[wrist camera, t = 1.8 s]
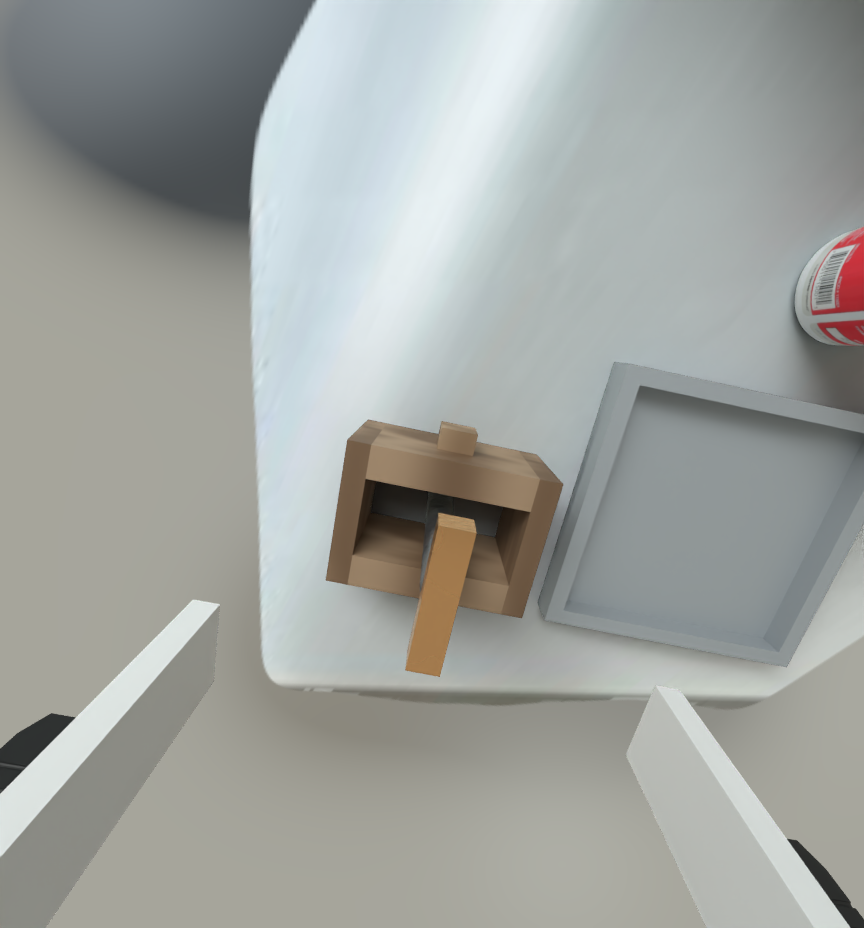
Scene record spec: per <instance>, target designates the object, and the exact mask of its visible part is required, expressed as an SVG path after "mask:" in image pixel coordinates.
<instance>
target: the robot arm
mask: <svg viewBox="0 0 864 928" xmlns="http://www.w3.org/2000/svg"><path fill="white" fill-rule="evenodd" d="M219 610H220V604H215V603H210V602H204V601H199V600H192V601H191V602H190V603H189V604H188V606H186V607H185V609H183V610H182V611H181V612H180V613H179V614H178V615H177V617H176V618H174V619H173V620H172V621H171V622H170V624H169V625H168V626H167V627H166V628H165V629H164V630H163V631H162V632H161V633H160V634H159V635H158V636H157V637H156V638H155V639H154V640H153V641H152V642H151V643H150V644H149V645H148V646H147V647H146V648H145V649H144V650H143V651H142V652H141V653H140V654H139V655H138V656H137V657H136V658H135V659H134V660H133V661H132V662H131V663H130V664H129V665H128V666H127V667H126V668H125V669H124V670H123V671H122V672H121V673H120V674H119V675H118V676H117V677H116V678H115V679H114V680H113V681H112V682H111V683H110V684H109V685H108V686H107V687H106V688H105V689H104V690H103V691H102V692H101V693H100V694H99V695H98V696H97V697H96V698H95V699H94V700H93V701H92V702H91V703H90V704H89V705H88V706H87V707H86V708H85V709H84V710H83V711H82V712H81V713H80V714H79V715H78V716H77V717H76V718H75V717H69V716H64V715H58V714H52V713H51V714H49V715H48V716H46V717H44V718H43V719H41V720H39V721H38V722H36V723H34V724H32V725H31V726H29V727H27V728H26V729H24V730H22V731H20V732H19V733H17V734H16V735H15V736H14V737H13V738H12V739H11V740H9V741H8V742H7V743H6V744H5V745H4V746H3V747H2V748H1V749H0V928H46V926H47V925H48V923H49V922H50V920H51V919H52V918H53V916H54V915H55V913H56V912H57V910H58V909H59V907H60V906H61V904H62V903H63V901H64V900H65V898H66V897H67V896H68V894H69V892H70V891H71V890H72V888H73V887H74V885H75V884H76V882H77V881H78V879H79V878H80V876H81V875H82V874H83V872H84V871H85V869H86V868H87V866H88V865H89V863H90V862H91V860H92V859H93V858H94V856H95V855H96V853H97V852H98V850H99V849H100V847H101V846H102V844H103V843H104V841H105V840H106V838H107V837H108V836H109V834H110V833H111V831H112V829H113V828H114V827H115V825H116V824H117V822H118V821H119V819H120V818H121V816H122V815H123V814H124V812H125V811H126V809H127V808H128V806H129V805H130V803H131V802H132V800H133V799H134V797H135V796H136V795H137V793H138V791H139V790H140V789H141V787H142V786H143V784H144V783H145V781H146V780H147V778H148V777H149V775H150V774H151V773H152V771H153V770H154V768H155V767H156V765H157V764H158V762H159V761H160V759H161V758H162V757H163V755H164V754H165V752H166V751H167V749H168V747H169V746H170V745H171V743H172V742H173V740H174V739H175V737H176V736H177V735H178V733H179V732H180V730H181V729H182V727H183V726H184V724H185V723H186V721H187V720H188V718H189V717H190V715H191V714H192V713H193V711H194V709H195V708H196V707H197V705H198V704H199V702H200V701H201V699H202V698H203V696H204V695H205V694H206V692H207V691H208V689H209V688H210V686H211V685H212V683H213V682H214V671H215V658H216V646H217V634H218V621H219ZM626 757H627V759H628V761H629V763H630V765H631V767H632V770H633V771H634V774H635V776H636V778H637V780H638V782H639V785H640V787H641V788H642V791H643V793H644V795H645V797H646V799H647V802H648V804H649V806H650V808H651V810H652V812H653V814H654V817H655V819H656V821H657V823H658V825H659V827H660V830H661V832H662V834H663V836H664V838H665V840H666V842H667V844H668V847H669V848H670V851H671V853H672V855H673V857H674V859H675V862H676V864H677V866H678V868H679V870H680V872H681V874H682V877H683V879H684V880H685V883H686V885H687V887H688V889H689V892H690V893H691V896H692V898H693V900H694V902H695V904H696V907H697V909H698V911H699V913H700V915H701V917H702V919H703V922H704V924H705V926H706V928H864V919H863V918H862V916H861V915H860V914H859V912H858V911H857V910H856V909H855V908H852V906H851V904H850V903H851V902H850V901H849V899H848V898H847V896H846V895H845V894H844V892H843V891H842V890H841V889H840V887H839V886H838V884H837V883H836V882H835V881H834V879H833V878H832V877H831V875H830V874H829V873H828V871H827V870H826V869H825V868H824V867H823V866H822V865H821V864H820V863H819V862H818V861H817V860H816V859H815V858H814V857H813V856H812V855H811V854H810V853H809V852H808V851H807V850H806V849H805V848H804V847H803V846H802V845H801V844H800V843H799V842H798V841H797V840H791V839H786V837H785V836H784V834H783V833H782V832H781V830H780V829H779V828H778V826H777V825H776V823H775V822H774V821H773V819H772V818H771V816H770V815H769V814H768V812H767V811H766V809H765V808H764V807H763V805H762V804H761V802H760V801H759V800H758V798H757V797H756V795H755V794H754V793H753V791H752V790H751V789H750V787H749V786H748V784H747V783H746V782H745V780H744V779H743V777H742V776H741V775H740V773H739V772H738V770H737V769H736V768H735V766H734V765H733V763H732V762H731V761H730V759H729V758H728V756H727V755H726V754H725V752H724V751H723V750H722V748H721V747H720V745H719V744H718V743H717V741H716V740H715V738H714V737H713V736H712V734H711V733H710V731H709V730H708V729H707V727H706V726H705V725H704V723H703V722H702V720H701V719H700V717H699V716H698V715H697V713H696V712H695V710H694V709H693V708H692V706H691V705H690V704H689V702H688V701H687V699H686V698H685V697H684V695H683V694H682V692H681V691H680V690H678V689H673V688H668V687H662V686H657V685H655V687H654V689H653V692H652V694H651V696H650V699H649V701H648V704H647V706H646V708H645V711H644V713H643V715H642V718H641V720H640V722H639V725H638V727H637V730H636V732H635V734H634V737H633V739H632V741H631V744H630V746H629V748H628V751H627V753H626Z"/></svg>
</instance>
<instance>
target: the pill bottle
mask: <svg viewBox="0 0 864 928" xmlns="http://www.w3.org/2000/svg"><path fill="white" fill-rule="evenodd" d="M795 311H796V314H797V318H798V320H799V322H800V324H801V326H802V327H803V329H804V330H805V331H806V332H807V333H808V334H809V335H810V336H811V337H813V338H814V339H816V340H818V341H820V342H822V343H825V344H830V345H839V346H864V227H861V228H858V229H855V230H852V231H849V232H846V233H844V234H842V235H840V236H838V237H836V238H834V239H833V240H831V241H830V242H828V243H827V244H826V245H824V246H823V247H822V248H821V249H820V250H819V251H818V252H817V253H816V254H815V255H814V256H813V257H812V258H811V259H810V261H809V262H808V263H807V265H806V266H805V268H804V269H803V271H802V273H801V275H800V278H799V281H798V284H797V287H796V293H795Z"/></svg>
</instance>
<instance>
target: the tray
mask: <svg viewBox="0 0 864 928" xmlns="http://www.w3.org/2000/svg"><path fill="white" fill-rule="evenodd" d="M863 524H864V414H859V413H855V412H850V411H845V410H841V409H836V408H832V407H827V406H822V405H818V404H813V403H809V402H804V401H799V400H795V399H790V398H785V397H781V396H776V395H772V394H767V393H762V392H758V391H753V390H749V389H744V388H739V387H735V386H730V385H725V384H721V383H716V382H712V381H707V380H702V379H698V378H693V377H689V376H684V375H679V374H675V373H670V372H665V371H661V370H656V369H652V368H647V367H642V366H638V365H633V364H628V363H616V362H614V364H613V368H612V371H611V374H610V377H609V380H608V383H607V386H606V390H605V393H604V396H603V399H602V402H601V405H600V408H599V412H598V415H597V418H596V421H595V424H594V427H593V430H592V434H591V437H590V440H589V443H588V446H587V449H586V452H585V456H584V459H583V462H582V465H581V468H580V471H579V474H578V478H577V481H576V484H575V487H574V490H573V493H572V496H571V500H570V503H569V506H568V509H567V512H566V515H565V518H564V522H563V525H562V528H561V531H560V534H559V537H558V540H557V544H556V547H555V550H554V553H553V556H552V559H551V562H550V566H549V569H548V572H547V575H546V578H545V581H544V584H543V588H542V591H541V594H540V597H539V600H538V605H539V607H540V610H541V613H542V615H543V618H544V620H545V621H550V622H555V623H560V624H565V625H571V626H576V627H581V628H586V629H591V630H596V631H602V632H607V633H612V634H617V635H622V636H627V637H633V638H638V639H643V640H648V641H653V642H659V643H664V644H669V645H674V646H679V647H684V648H690V649H695V650H700V651H705V652H710V653H716V654H721V655H726V656H731V657H736V658H741V659H747V660H752V661H757V662H762V663H767V664H772V665H778V666H783V667H787V666H788V664H789V662H790V660H791V658H792V656H793V654H794V653H795V651H796V649H797V647H798V645H799V643H800V641H801V640H802V638H803V636H804V634H805V632H806V630H807V628H808V626H809V625H810V623H811V621H812V619H813V617H814V615H815V613H816V611H817V610H818V608H819V606H820V604H821V602H822V600H823V598H824V597H825V595H826V593H827V591H828V589H829V587H830V585H831V583H832V582H833V580H834V578H835V576H836V574H837V572H838V570H839V569H840V567H841V565H842V563H843V561H844V559H845V557H846V555H847V554H848V552H849V550H850V548H851V546H852V544H853V542H854V540H855V539H856V537H857V535H858V533H859V531H860V529H861V527H862V526H863Z"/></svg>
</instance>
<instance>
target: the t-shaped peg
mask: <svg viewBox="0 0 864 928" xmlns="http://www.w3.org/2000/svg"><path fill="white" fill-rule="evenodd" d="M476 534H477V532H476V527H475V522H474V520H473V519H468V518H463V517H458V516H454V514H453V501H452V496H448V495H443V494H438V493H433V492H428V499H427V510H426V521H425V532H424V543H423V554H422V565H421V576H420V597H419V601H418V606H417V610H416V615H415V619H414V624H413V628H412V632H411V637H410V641H409V646H408V651H407V660H406V669H405V670H406V671H411V672H417V673H422V674H428V675H433V676H438V677H440V674H441V670H442V666H443V662H444V658H445V654H446V650H447V646H448V643H449V639H450V635H451V631H452V627H453V623H454V619H455V615H456V612H457V608H458V604H459V600H460V596H461V592H462V588H463V584H464V581H465V577H466V573H467V569H468V565H469V561H470V557H471V553H472V549H473V546H474V542H475V538H476Z"/></svg>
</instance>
